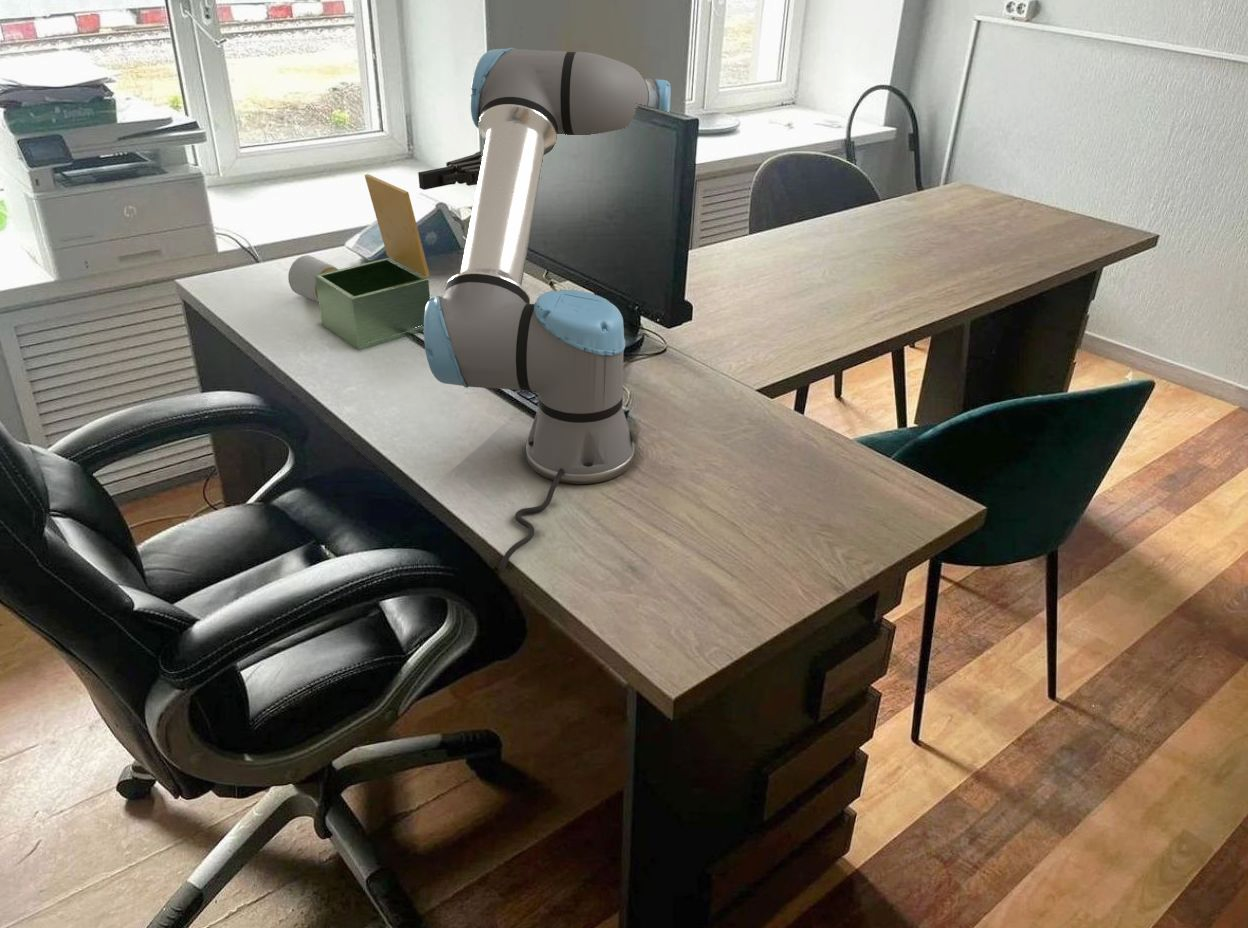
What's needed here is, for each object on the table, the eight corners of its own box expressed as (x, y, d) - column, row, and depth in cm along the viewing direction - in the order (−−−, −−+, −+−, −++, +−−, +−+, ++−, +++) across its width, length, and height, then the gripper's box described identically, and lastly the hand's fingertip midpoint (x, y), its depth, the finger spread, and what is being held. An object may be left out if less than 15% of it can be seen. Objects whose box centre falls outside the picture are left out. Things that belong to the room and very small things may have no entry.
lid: (404, 193, 164) (408, 191, 165) (364, 175, 173) (367, 173, 173) (426, 277, 174) (429, 276, 174) (387, 256, 182) (390, 254, 183)
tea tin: (358, 349, 171) (352, 298, 166) (321, 324, 179) (314, 275, 174) (432, 328, 179) (428, 279, 174) (394, 305, 188) (388, 257, 183)
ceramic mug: (319, 310, 185) (314, 270, 181) (290, 299, 189) (284, 260, 185) (363, 294, 192) (359, 255, 188) (334, 284, 196) (329, 246, 192)
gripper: (553, 187, 184) (443, 211, 171) (511, 171, 192) (403, 193, 179) (552, 146, 180) (439, 167, 167) (510, 131, 188) (399, 151, 175)
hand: (421, 181), depth 173 cm, fingers closed
